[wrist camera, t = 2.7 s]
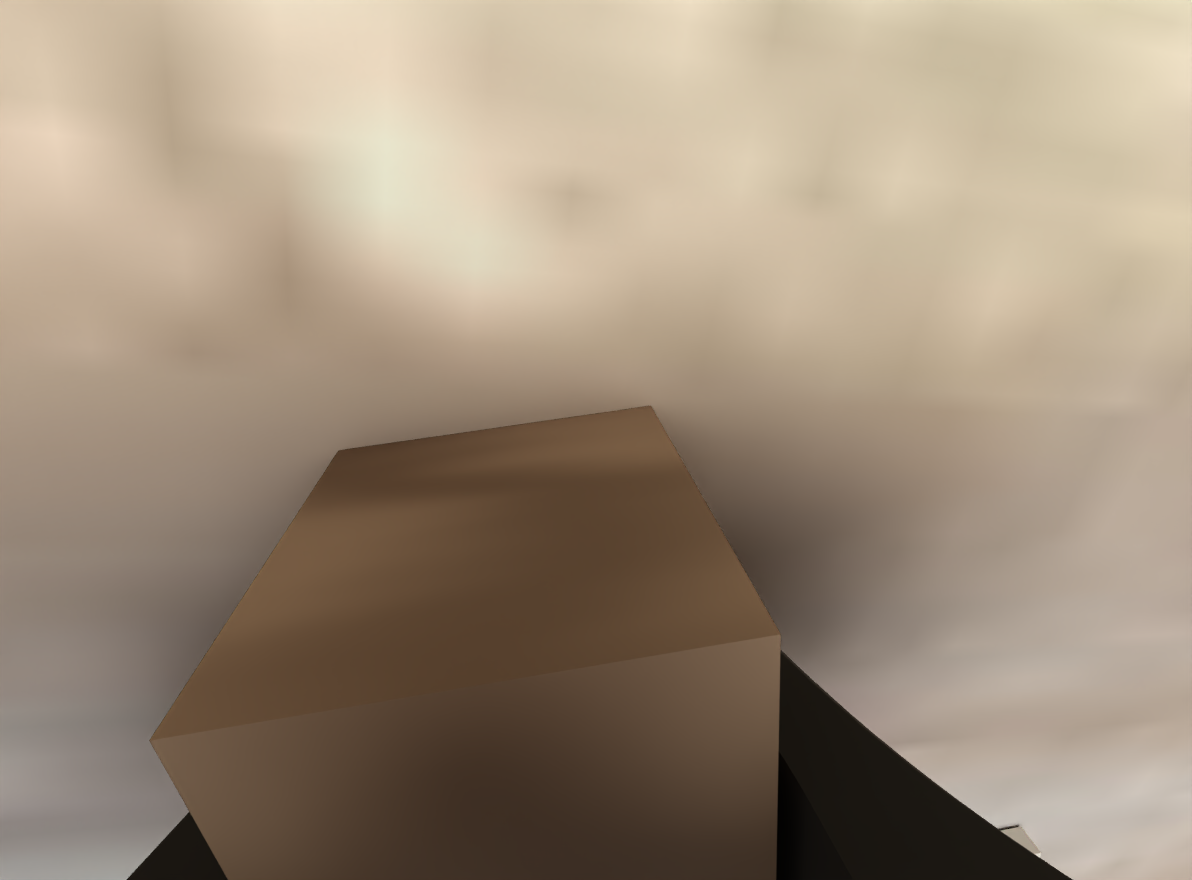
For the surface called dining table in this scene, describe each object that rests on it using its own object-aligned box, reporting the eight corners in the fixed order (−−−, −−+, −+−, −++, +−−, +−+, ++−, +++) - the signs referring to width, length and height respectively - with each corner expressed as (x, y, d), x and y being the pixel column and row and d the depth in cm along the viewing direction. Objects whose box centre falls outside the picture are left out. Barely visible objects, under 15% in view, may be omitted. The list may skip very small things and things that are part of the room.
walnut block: (442, 781, 12) (393, 1171, 7) (340, 447, 9) (149, 739, 4) (675, 739, 12) (772, 1090, 7) (649, 403, 9) (780, 634, 5)
